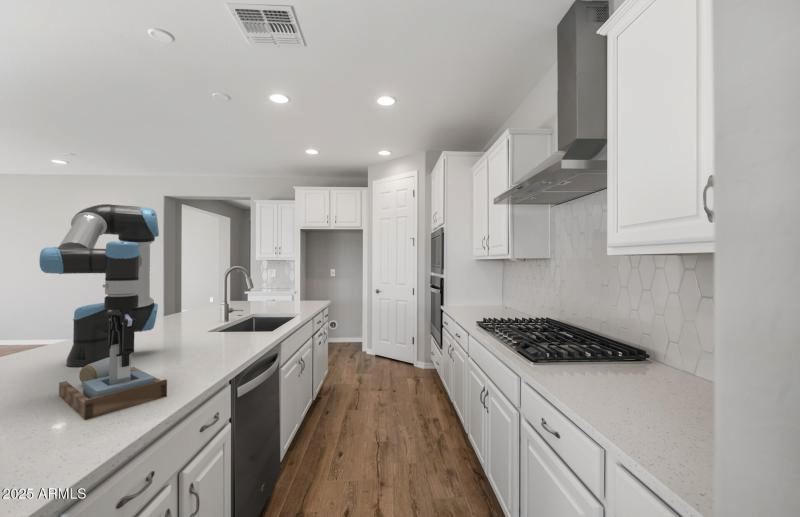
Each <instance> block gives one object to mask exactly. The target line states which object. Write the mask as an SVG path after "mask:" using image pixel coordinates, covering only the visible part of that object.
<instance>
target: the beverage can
mask: <svg viewBox="0 0 800 517" xmlns="http://www.w3.org/2000/svg"><path fill="white" fill-rule="evenodd" d="M127 350H128V349H127ZM117 354H119V344H115V345H112V346H111V348H110V362H109V386H110V385H114V384H119V383H123V382H127V381H131V367H132V357H131V358H130V377H126V378H122V379H117V366H118V357H117V356H116V355H117Z"/></svg>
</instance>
